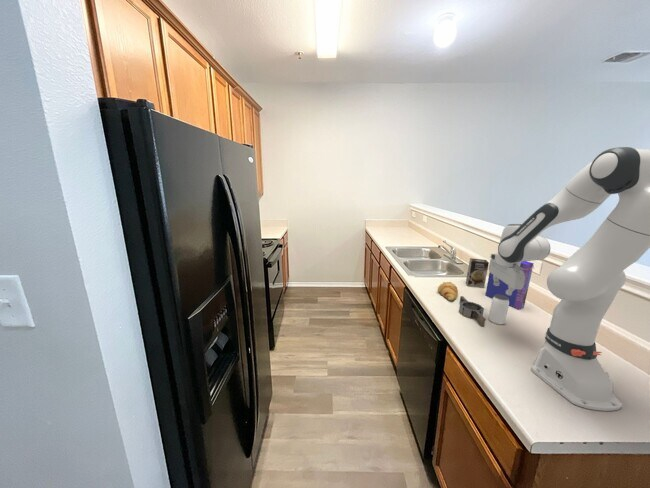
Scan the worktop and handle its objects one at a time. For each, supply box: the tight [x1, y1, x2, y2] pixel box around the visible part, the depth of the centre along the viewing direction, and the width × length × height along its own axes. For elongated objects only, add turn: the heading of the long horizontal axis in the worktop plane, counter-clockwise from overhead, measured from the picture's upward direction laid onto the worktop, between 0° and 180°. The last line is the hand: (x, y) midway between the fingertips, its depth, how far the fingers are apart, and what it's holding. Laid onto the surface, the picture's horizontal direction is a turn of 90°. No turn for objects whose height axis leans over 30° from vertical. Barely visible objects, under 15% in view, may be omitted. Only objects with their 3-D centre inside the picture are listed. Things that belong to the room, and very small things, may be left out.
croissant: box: [437, 281, 459, 302], centre depth 151 cm, size 21×10×8 cm, turn 167°
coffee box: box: [465, 257, 490, 289], centre depth 162 cm, size 9×6×16 cm
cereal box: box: [484, 261, 534, 311], centre depth 140 cm, size 17×5×24 cm, turn 24°
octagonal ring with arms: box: [458, 306, 486, 328], centre depth 126 cm, size 16×10×4 cm, turn 177°
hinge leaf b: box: [459, 295, 485, 315], centre depth 132 cm, size 16×10×4 cm, turn 177°
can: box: [488, 294, 510, 326], centre depth 122 cm, size 6×6×12 cm
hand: (501, 289), depth 120 cm, fingers open, 8 cm apart
